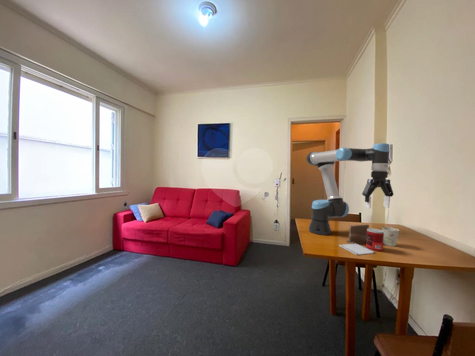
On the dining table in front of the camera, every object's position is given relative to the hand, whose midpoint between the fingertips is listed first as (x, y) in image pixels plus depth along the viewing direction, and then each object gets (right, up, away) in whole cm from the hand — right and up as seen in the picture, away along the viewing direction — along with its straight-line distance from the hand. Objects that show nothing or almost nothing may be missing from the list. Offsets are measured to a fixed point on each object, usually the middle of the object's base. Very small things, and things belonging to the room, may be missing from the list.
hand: (377, 207), depth 104 cm
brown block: (-4, -24, +10) cm, 26 cm away
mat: (-13, -24, -1) cm, 27 cm away
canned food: (-1, -25, +1) cm, 25 cm away
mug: (+12, -25, +8) cm, 29 cm away
